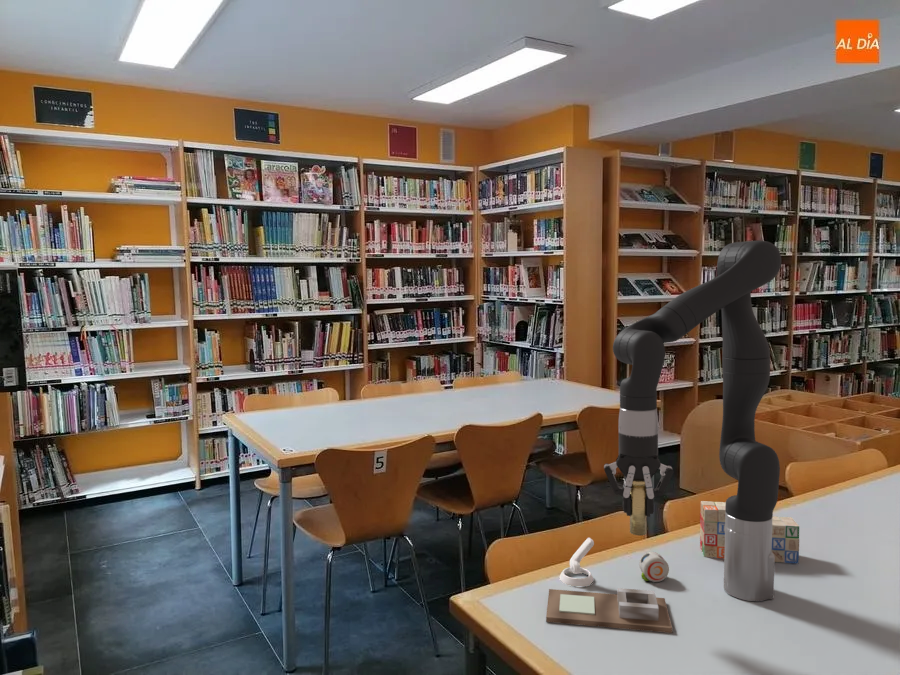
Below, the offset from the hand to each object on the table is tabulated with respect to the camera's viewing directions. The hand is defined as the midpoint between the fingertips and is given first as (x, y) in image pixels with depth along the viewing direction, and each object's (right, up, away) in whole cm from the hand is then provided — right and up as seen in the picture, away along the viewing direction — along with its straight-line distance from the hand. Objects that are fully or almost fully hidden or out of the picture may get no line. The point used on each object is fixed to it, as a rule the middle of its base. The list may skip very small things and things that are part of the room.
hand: (637, 514), depth 130 cm
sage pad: (-11, -20, +4) cm, 23 cm away
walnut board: (-5, -21, +3) cm, 22 cm away
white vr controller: (-9, -20, +18) cm, 28 cm away
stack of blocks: (+35, -18, +29) cm, 49 cm away
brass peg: (0, -4, 0) cm, 4 cm away
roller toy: (+9, -20, +17) cm, 28 cm away
